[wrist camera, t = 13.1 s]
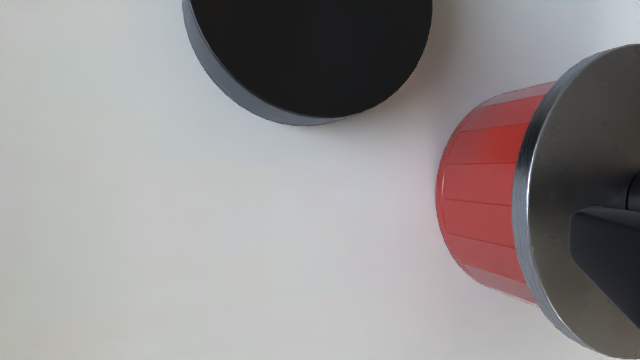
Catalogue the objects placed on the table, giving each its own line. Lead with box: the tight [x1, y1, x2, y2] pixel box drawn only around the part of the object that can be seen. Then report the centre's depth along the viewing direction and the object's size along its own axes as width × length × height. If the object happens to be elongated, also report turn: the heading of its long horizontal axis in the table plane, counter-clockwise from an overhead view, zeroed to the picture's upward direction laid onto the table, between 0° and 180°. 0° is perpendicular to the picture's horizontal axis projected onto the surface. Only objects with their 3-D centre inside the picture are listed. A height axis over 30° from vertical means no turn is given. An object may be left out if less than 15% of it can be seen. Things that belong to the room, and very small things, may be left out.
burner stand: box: [182, 0, 432, 126], centre depth 18 cm, size 10×10×3 cm
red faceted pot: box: [436, 81, 556, 308], centre depth 20 cm, size 11×11×6 cm
